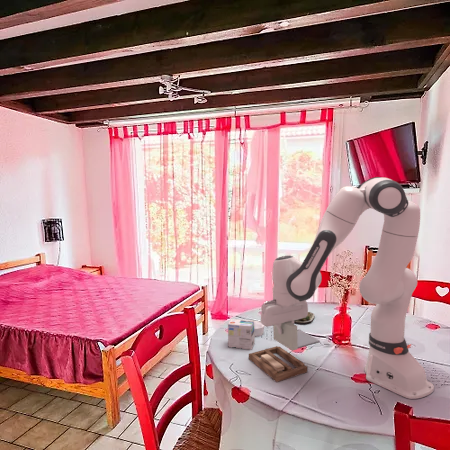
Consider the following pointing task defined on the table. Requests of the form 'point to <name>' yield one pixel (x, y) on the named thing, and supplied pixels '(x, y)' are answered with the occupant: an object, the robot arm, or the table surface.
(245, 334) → the light bulb box
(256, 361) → the walnut rack
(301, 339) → the grey rubber mat
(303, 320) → the salad plate
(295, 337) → the upright cream panel
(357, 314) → the table surface
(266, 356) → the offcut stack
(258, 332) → the ramekin
